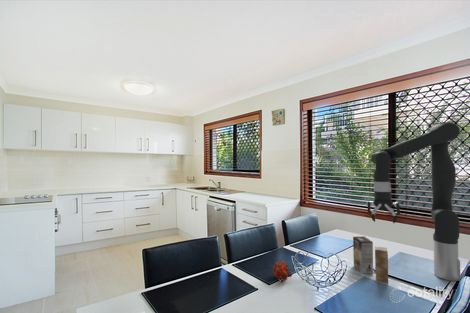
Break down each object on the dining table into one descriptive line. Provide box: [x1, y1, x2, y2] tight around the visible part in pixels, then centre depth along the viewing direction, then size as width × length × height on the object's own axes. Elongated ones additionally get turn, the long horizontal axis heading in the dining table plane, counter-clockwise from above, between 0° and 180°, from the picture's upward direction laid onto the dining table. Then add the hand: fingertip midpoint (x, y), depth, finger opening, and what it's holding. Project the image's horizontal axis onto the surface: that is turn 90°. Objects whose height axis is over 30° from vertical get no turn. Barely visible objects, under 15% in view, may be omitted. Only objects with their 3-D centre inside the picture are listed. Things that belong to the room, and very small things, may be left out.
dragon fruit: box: [272, 260, 293, 282], centre depth 120 cm, size 8×8×12 cm
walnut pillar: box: [374, 246, 389, 284], centre depth 117 cm, size 5×5×15 cm
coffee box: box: [352, 236, 374, 274], centre depth 129 cm, size 9×6×16 cm
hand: (383, 222), depth 125 cm, fingers open, 8 cm apart
